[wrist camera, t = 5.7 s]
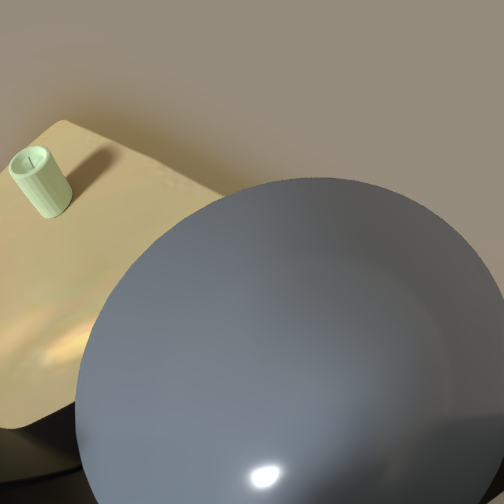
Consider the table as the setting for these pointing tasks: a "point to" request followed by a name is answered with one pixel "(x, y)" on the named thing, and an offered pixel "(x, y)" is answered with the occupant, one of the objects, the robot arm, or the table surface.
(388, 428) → the grey faceted canister
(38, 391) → the table surface
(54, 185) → the candle
